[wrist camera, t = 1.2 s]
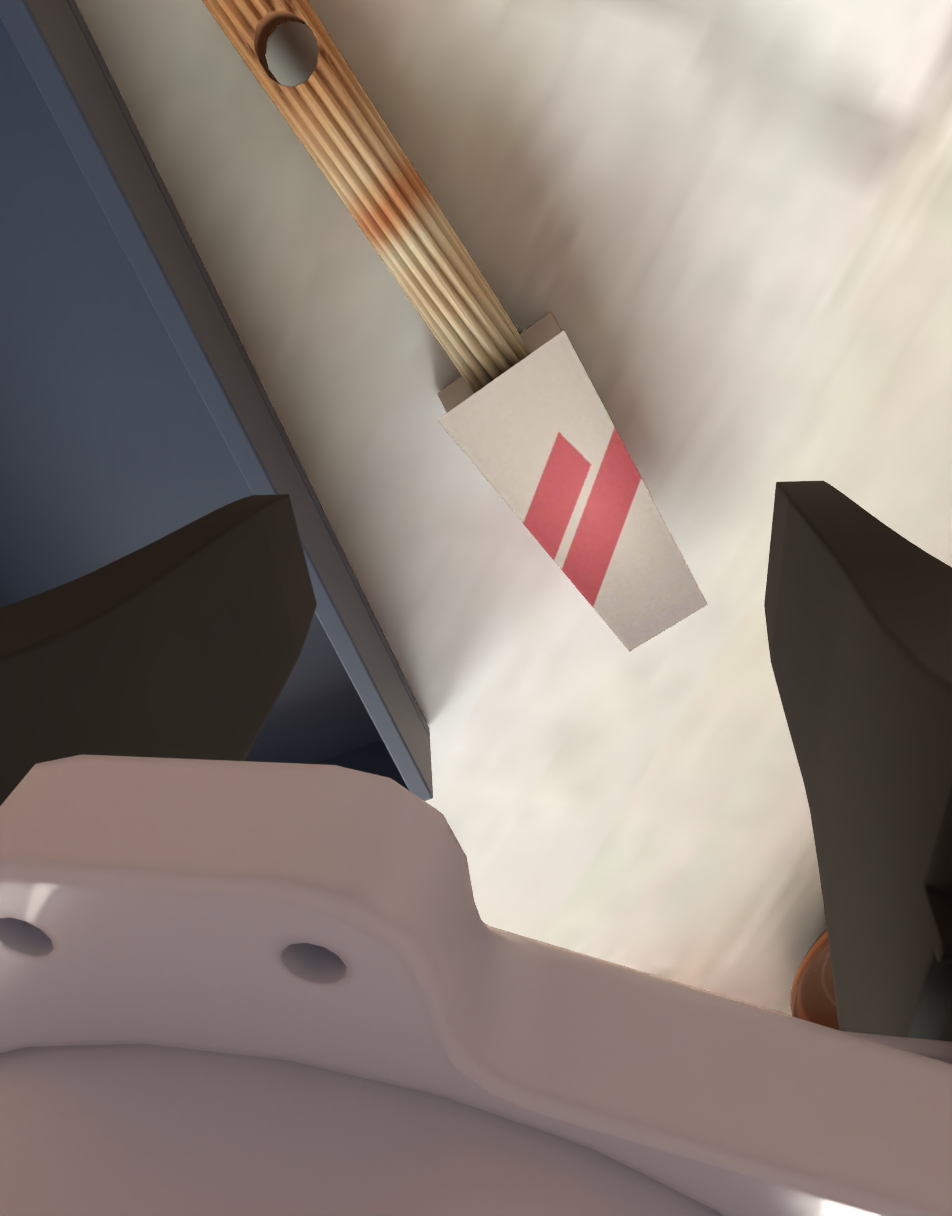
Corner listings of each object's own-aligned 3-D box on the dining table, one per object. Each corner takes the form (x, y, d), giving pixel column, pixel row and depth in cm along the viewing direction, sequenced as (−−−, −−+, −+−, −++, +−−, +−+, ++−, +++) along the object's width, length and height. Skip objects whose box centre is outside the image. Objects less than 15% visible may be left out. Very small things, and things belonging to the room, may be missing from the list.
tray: (152, 822, 30) (124, 901, 27) (-376, 123, 19) (-525, 120, 16) (429, 728, 29) (433, 798, 26) (41, -68, 18) (-33, -111, 15)
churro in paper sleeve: (623, 685, 25) (148, 7, 17) (606, 640, 28) (182, 28, 20) (739, 620, 24) (297, -125, 16) (710, 579, 27) (313, -86, 19)
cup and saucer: (1097, 917, 37) (1215, 1048, 32) (885, 1060, 41) (958, 1198, 36) (938, 801, 33) (1043, 930, 28) (719, 974, 37) (774, 1115, 32)
